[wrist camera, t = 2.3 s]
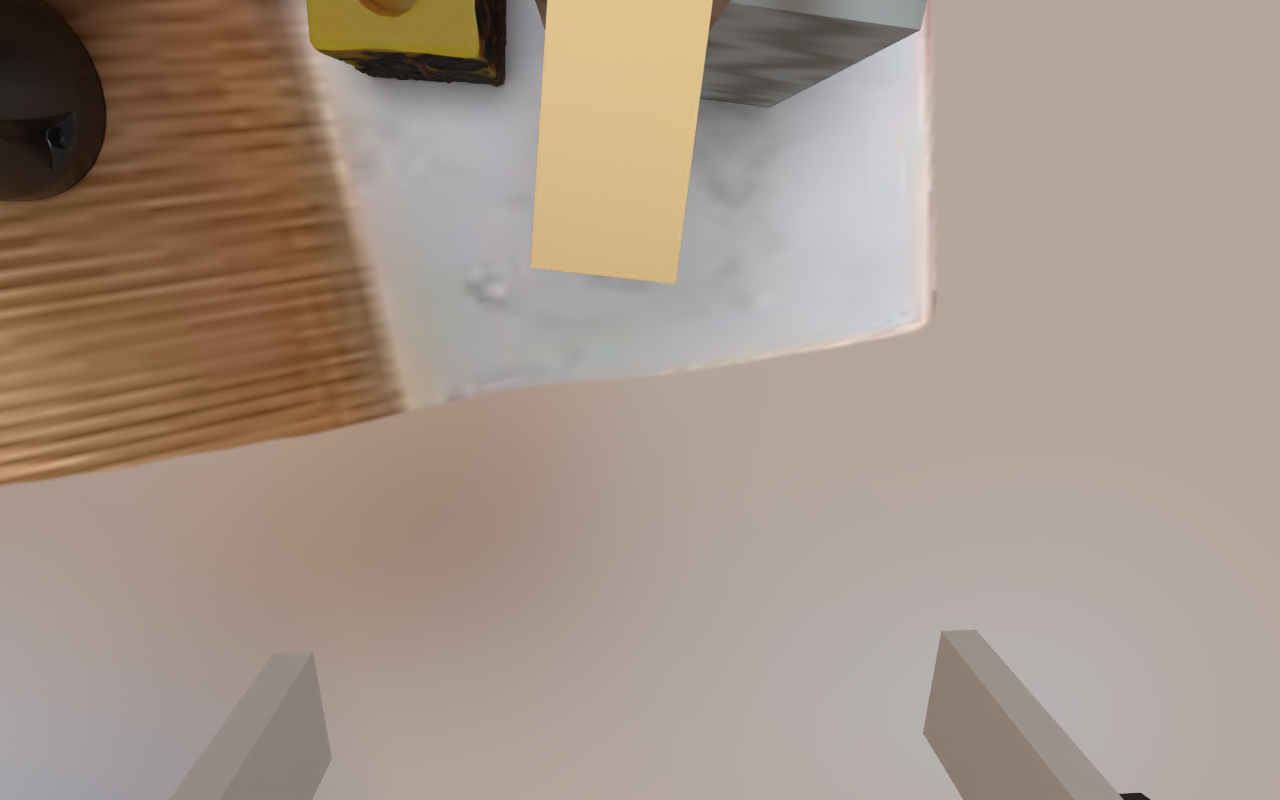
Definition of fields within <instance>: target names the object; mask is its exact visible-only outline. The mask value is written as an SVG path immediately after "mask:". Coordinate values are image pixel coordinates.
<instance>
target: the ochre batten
mask: <svg viewBox="0 0 1280 800" xmlns="http://www.w3.org/2000/svg"><path fill="white" fill-rule="evenodd" d="M712 2H713V0H547V12H546V28H545V44H544V60H543V76H542V91H541V107H540V123H539V139H538V155H537V170H536V186H535V202H534V218H533V234H532V249H531V265H530V268H535V269H545V270H554V271H563V272H572V273H581V274H590V275H599V276H609V277H618V278H627V279H636V280H645V281H654V282H663V283H672V284H676V277H677V269H678V262H679V254H680V246H681V239H682V231H683V223H684V216H685V208H686V201H687V193H688V185H689V178H690V170H691V162H692V155H693V147H694V140H695V132H696V124H697V117H698V109H699V102H700V94H701V86H702V79H703V71H704V63H705V56H706V48H707V41H708V33H709V25H710V18H711V10H712Z"/></svg>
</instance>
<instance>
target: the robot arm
mask: <svg viewBox="0 0 1280 800" xmlns="http://www.w3.org/2000/svg"><path fill="white" fill-rule="evenodd" d="M104 124H105V111H104V101H103V95H102V91H101V87H100V83H99V80H98V77H97V74H96V71H95V69H94V66H93V64H92V62H91V60H90V58H89V56H88V54H87V52H86V50H85V49H84V47H83V45H82V44H81V42H80V41H79V39H78V38H77V36H76V35H75V34H74V32H73V31H72V30H71V28H70V27H69V26H68V25H67V23H66V22H65V21H64V20H63V19H62V18H61V17H60V16H59V15H58V14H57V13H56V12H55V11H54V10H53V9H52V8H51V7H50V6H49V5H48V4H46V3H45V2H44V1H43V0H0V201H26V200H37V199H42V198H47V197H50V196H53V195H55V194H58V193H60V192H62V191H64V190H66V189H68V188H69V187H71V186H72V185H74V184H75V183H76V182H77V181H79V180H80V179H81V178H82V177H83V176H84V174H85V173H86V172H87V171H88V170H89V168H90V167H91V165H92V164H93V162H94V160H95V158H96V156H97V154H98V152H99V149H100V146H101V142H102V138H103V133H104ZM923 733H924V735H925V737H926V739H927V740H928V742H929V743H930V745H931V747H932V748H933V750H934V752H935V753H936V755H937V757H938V758H939V760H940V762H941V763H942V765H943V767H944V768H945V770H946V772H947V773H948V775H949V777H950V778H951V780H952V782H953V783H954V785H955V787H956V788H957V790H958V792H959V793H960V795H961V797H962V798H963V800H1150V799H1149V798H1147V797H1146V796H1144V795H1143V794H1142V793H1128V794H1118V793H1117V792H1116V790H1114V788H1113V787H1112V786H1111V785H1110V784H1109V782H1108V781H1107V780H1106V779H1105V778H1104V777H1103V776H1102V774H1101V773H1100V772H1099V771H1098V770H1097V769H1096V767H1095V766H1094V765H1093V764H1092V763H1091V762H1090V760H1089V759H1088V758H1087V757H1086V756H1085V755H1084V754H1083V752H1082V751H1081V750H1080V749H1079V748H1078V747H1077V746H1076V744H1075V743H1074V742H1073V741H1072V740H1071V739H1070V737H1069V736H1068V735H1067V734H1066V733H1065V732H1064V731H1063V729H1062V728H1061V727H1060V726H1059V725H1058V724H1057V723H1056V721H1055V720H1054V719H1053V718H1052V717H1051V716H1050V715H1049V713H1048V712H1047V711H1046V710H1045V709H1044V708H1043V706H1041V704H1040V703H1039V702H1038V701H1037V700H1036V698H1035V697H1034V696H1033V695H1032V694H1031V693H1030V691H1029V690H1028V689H1027V688H1026V687H1025V686H1024V685H1023V683H1022V682H1021V681H1020V680H1019V679H1018V678H1017V677H1016V675H1015V674H1014V673H1013V672H1012V671H1011V670H1010V669H1009V667H1008V666H1007V665H1006V664H1005V663H1004V662H1003V660H1002V659H1001V658H1000V657H999V656H998V655H997V654H996V653H995V651H994V650H993V649H992V648H991V647H990V645H989V644H988V643H987V642H986V641H985V640H984V639H983V637H982V636H981V635H980V634H979V633H978V632H977V631H976V630H957V631H941V637H940V642H939V648H938V653H937V659H936V664H935V670H934V675H933V681H932V686H931V692H930V697H929V703H928V709H927V714H926V720H925V725H924V731H923ZM330 761H331V752H330V747H329V741H328V735H327V729H326V723H325V718H324V712H323V706H322V701H321V695H320V690H319V685H318V678H317V673H316V667H315V661H314V656H313V652H292V653H274V654H273V655H272V656H271V658H270V659H269V660H268V662H267V664H266V665H265V666H264V667H263V669H262V670H261V672H260V673H259V674H258V676H257V677H256V679H255V680H254V681H253V683H252V684H251V686H250V687H249V689H248V690H247V691H246V693H245V694H244V695H243V697H242V698H241V700H240V701H239V702H238V704H237V705H236V707H235V708H234V709H233V711H232V712H231V714H230V715H229V717H228V718H227V719H226V721H225V722H224V723H223V725H222V726H221V728H220V729H219V730H218V732H217V733H216V735H215V736H214V737H213V739H212V740H211V742H210V743H209V744H208V746H207V747H206V749H205V750H204V752H203V753H202V754H201V756H200V757H199V759H198V760H197V761H196V763H195V764H194V766H193V767H192V768H191V770H190V771H189V772H188V774H187V775H186V777H185V778H184V779H183V781H182V782H181V784H180V785H179V786H178V788H177V789H176V791H175V792H174V793H173V795H172V796H171V798H170V799H169V800H312V799H313V796H314V794H315V792H316V790H317V788H318V786H319V784H320V782H321V780H322V778H323V775H324V773H325V771H326V769H327V767H328V765H329V763H330Z"/></svg>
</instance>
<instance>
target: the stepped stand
mask: <svg viewBox="0 0 1280 800" xmlns="http://www.w3.org/2000/svg"><path fill="white" fill-rule="evenodd" d="M535 1H536V4H537V7H538V10H539V13H540V16H541V19H542V23H543V26H544V29H545V28H546V12H547V0H535ZM926 1H927V0H713V2H712V10H711V18H710V25H709V33H708V41H707V48H706V56H705V63H704V71H703V79H702V86H701V94H700V98H701V99H709V100H717V101H725V102H733V103H740V104H748V105H756V106H764V107H772V106H774V105H776V104H778V103H780V102H782V101H783V100H785V99H787V98H789V97H791V96H793V95H795V94H797V93H799V92H801V91H803V90H805V89H807V88H809V87H811V86H813V85H814V84H816V83H818V82H820V81H822V80H824V79H826V78H828V77H830V76H832V75H834V74H836V73H838V72H840V71H842V70H843V69H845V68H847V67H849V66H851V65H853V64H855V63H857V62H859V61H861V60H863V59H865V58H867V57H869V56H871V55H873V54H874V53H876V52H878V51H880V50H882V49H884V48H886V47H888V46H890V45H892V44H894V43H896V42H898V41H900V40H902V39H904V38H905V37H907V36H909V35H911V34H913V33H915V32H917V31H919V30H920V29H921V25H922V20H923V15H924V10H925V6H926Z"/></svg>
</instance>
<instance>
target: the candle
mask: <svg viewBox="0 0 1280 800" xmlns="http://www.w3.org/2000/svg"><path fill="white" fill-rule="evenodd" d="M307 9H308V23H309V34H310V42H311V43H312V45H313V47H314V48H315V49H316V50H318V51H319V52H321V53H323V54H325V55H328V56H330V57H333V58H335V59H338V60H340V61H342V60H344V61H345V63H348V64H351V65H353V66H355V68H356V69H357V70H359V71H360V72H362V73H366V74H367V75H368V76H373V77H377V76H378V77H385V78H391V77H394V78H396V79H399V80H408V79H414V80H424V81H427V80H429V81H436V82H447V83H450V82H452V81H455V82H469V83H486V84H491V85H493V86H496V87H497V86H499V85H502V84H503V83H504V80H505V45H506V40H505V37H506V23H505V16H506V0H307Z"/></svg>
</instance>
